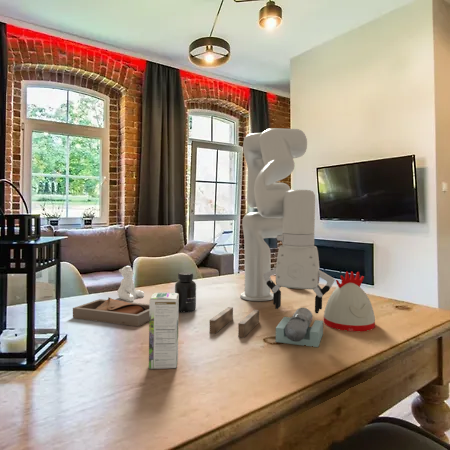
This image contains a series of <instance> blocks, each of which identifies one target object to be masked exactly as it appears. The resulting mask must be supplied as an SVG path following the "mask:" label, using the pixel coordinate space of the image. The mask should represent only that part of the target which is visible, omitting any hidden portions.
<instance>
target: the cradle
mask: <svg viewBox="0 0 450 450" xmlns="http://www.w3.org/2000/svg"><path fill="white" fill-rule="evenodd" d="M291 318H292V316H291V317H290V316H289V317H288V316H284V317H282V319H281V320H280V322H279V323H278V324H277V326H276V327H275V343H282V344H290V345H298V346H304V345H306V347H312V346H313V347H312V348H319V346H320V343H321V340H322V338H323V335H324V320H320V319H315V320H314V322H313V324H312V326H309V328H308V330H307V332H306V334H305V336H304V338H303V339H302V340H301V341H298V342H295V341H291V340H290V339H289V338H288V337H287V336H286V334H285V327H286V325H287V323H288V322H289V321H290V319H291Z"/></svg>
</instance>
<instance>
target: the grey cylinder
mask: <svg viewBox="0 0 450 450" xmlns="http://www.w3.org/2000/svg"><path fill="white" fill-rule="evenodd" d="M313 317H314V316H313V313H312V311H311V310H310V309H308V308H307V307H299V308H297V309H296V310H295V312H294V313H293V315H292V316H291V319H290V321H289V322H288V323H287V325H286V327H285V334H286V336H287V337H288V338H289V339H290V340H291V341H295V342H298V341H301V340H302V339H303V338H304V336H305V334H306V332H307V330H308V328H309V327H311V324H312V321H313Z"/></svg>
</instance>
